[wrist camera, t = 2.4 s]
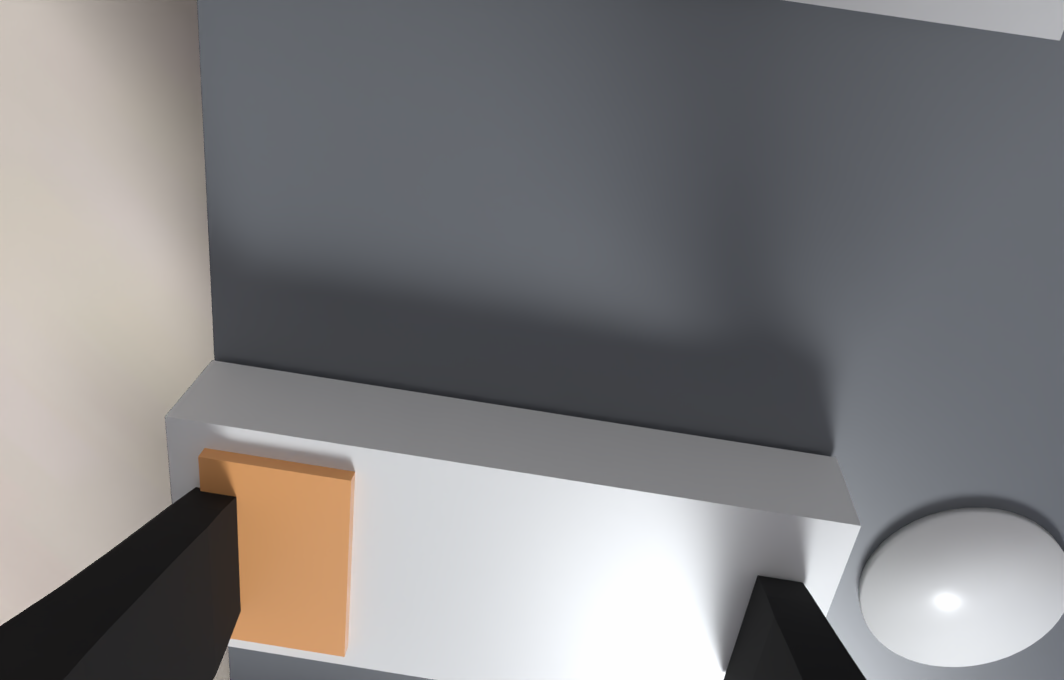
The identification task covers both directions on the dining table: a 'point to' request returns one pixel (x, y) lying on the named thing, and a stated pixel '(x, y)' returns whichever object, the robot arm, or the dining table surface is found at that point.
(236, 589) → the robot arm
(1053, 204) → the switch panel
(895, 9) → the switch off end
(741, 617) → the switch middle
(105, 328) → the dining table surface
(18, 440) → the dining table surface
